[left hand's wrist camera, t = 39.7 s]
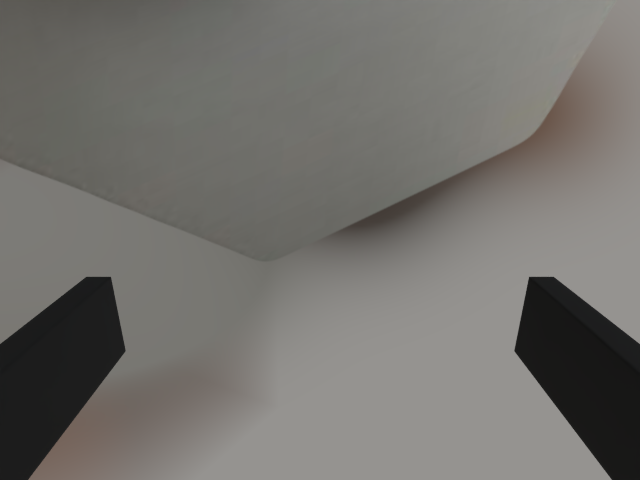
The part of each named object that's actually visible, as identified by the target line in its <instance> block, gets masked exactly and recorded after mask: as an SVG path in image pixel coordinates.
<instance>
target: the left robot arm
mask: <svg viewBox="0 0 640 480" xmlns="http://www.w3.org/2000/svg"><path fill="white" fill-rule="evenodd" d="M124 352H125V346H124V341H123V336H122V331H121V326H120V321H119V316H118V311H117V306H116V301H115V296H114V290H113V285H112V280H111V277H86V278H84V279H83V280H82V281H81V282H79V283H78V284H77V285H75V286H74V287H73V288H72V289H70V290H69V291H68V292H66V293H65V294H64V295H63V296H61V297H60V298H59V299H58V300H56V301H55V302H54V303H52V304H51V305H50V306H49V307H47V308H46V309H45V310H43V311H42V312H41V313H40V314H38V315H37V316H36V317H34V318H33V319H32V320H31V321H29V322H28V323H27V324H25V325H24V326H23V327H22V328H20V329H19V330H18V331H17V332H15V333H14V334H13V335H11V336H10V337H9V338H8V339H6V340H5V341H4V342H2V343H1V344H0V480H28V479H29V478H30V476H31V475H32V474H33V472H34V471H35V470H36V468H37V467H38V466H39V465H40V463H41V462H42V461H43V459H44V458H45V457H46V455H47V454H48V453H49V451H50V450H51V449H52V447H53V446H54V445H55V443H56V442H57V441H58V439H59V438H60V437H61V435H62V434H63V433H64V432H65V430H66V429H67V428H68V426H69V425H70V424H71V422H72V421H73V420H74V418H75V417H76V416H77V414H78V413H79V412H80V410H81V409H82V408H83V407H84V405H85V404H86V403H87V401H88V400H89V399H90V397H91V396H92V395H93V393H94V392H95V391H96V389H97V388H98V387H99V385H100V384H101V383H102V381H103V380H104V379H105V377H106V376H107V375H108V374H109V372H110V371H111V370H112V368H113V367H114V366H115V364H116V363H117V362H118V360H119V359H120V358H121V356H122V355H123V354H124ZM515 352H516V354H517V355H518V356H519V358H520V359H521V360H522V362H523V363H524V364H525V366H526V367H527V368H528V370H529V371H530V372H531V374H532V375H533V376H534V377H535V379H536V380H537V381H538V383H539V384H540V385H541V387H542V388H543V389H544V391H545V392H546V393H547V395H548V396H549V397H550V399H551V400H552V401H553V403H554V404H555V405H556V407H557V408H558V409H559V410H560V412H561V413H562V414H563V416H564V417H565V418H566V420H567V421H568V422H569V424H570V425H571V426H572V428H573V429H574V430H575V432H576V433H577V434H578V436H579V437H580V438H581V439H582V441H583V442H584V443H585V445H586V446H587V447H588V449H589V450H590V451H591V453H592V454H593V455H594V457H595V458H596V459H597V461H598V462H599V463H600V465H601V466H602V467H603V469H604V470H605V471H606V472H607V474H608V475H609V476H610V478H611V479H612V480H640V344H639V343H638V342H636V341H635V340H634V339H632V338H631V337H630V336H629V335H627V334H626V333H625V332H624V331H622V330H621V329H620V328H618V327H617V326H616V325H615V324H613V323H612V322H611V321H609V320H608V319H607V318H606V317H604V316H603V315H602V314H600V313H599V312H598V311H597V310H595V309H594V308H593V307H591V306H590V305H589V304H588V303H586V302H585V301H584V300H582V299H581V298H580V297H579V296H577V295H576V294H575V293H574V292H572V291H571V290H570V289H568V288H567V287H566V286H565V285H563V284H562V283H561V282H559V281H558V280H557V279H556V278H554V277H529V280H528V285H527V291H526V296H525V301H524V306H523V311H522V316H521V321H520V326H519V331H518V336H517V341H516V346H515Z"/></svg>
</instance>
